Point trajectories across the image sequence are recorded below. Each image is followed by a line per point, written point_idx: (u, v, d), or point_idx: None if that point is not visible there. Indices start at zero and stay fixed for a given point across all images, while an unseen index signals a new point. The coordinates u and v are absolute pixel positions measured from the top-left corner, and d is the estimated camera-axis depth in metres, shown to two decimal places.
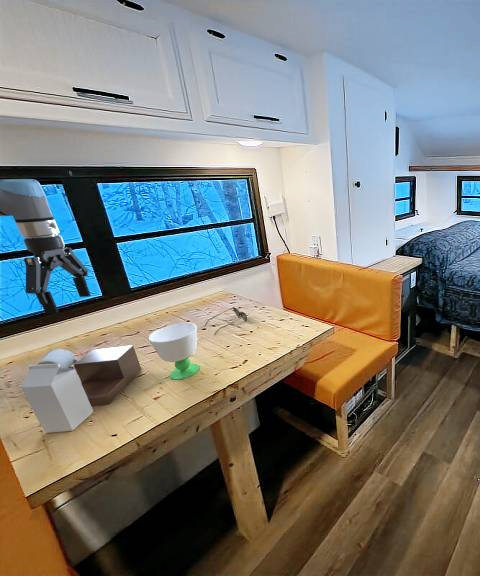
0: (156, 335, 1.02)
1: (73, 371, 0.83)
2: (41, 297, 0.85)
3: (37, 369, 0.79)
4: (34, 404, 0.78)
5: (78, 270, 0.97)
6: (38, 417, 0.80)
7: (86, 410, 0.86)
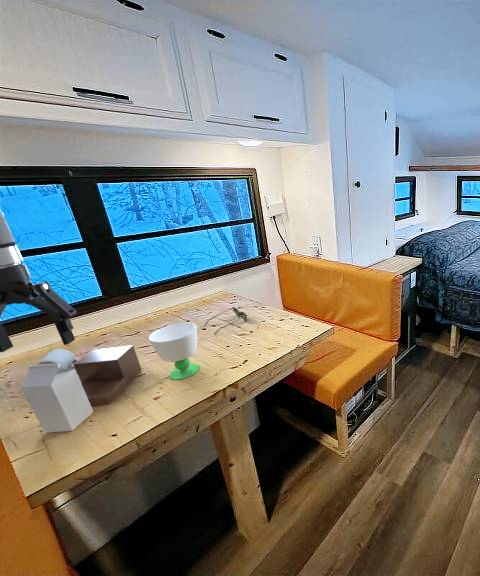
0: (156, 335, 1.02)
1: (73, 371, 0.83)
2: (69, 322, 0.78)
3: (37, 369, 0.79)
4: (34, 404, 0.78)
5: None
6: (38, 417, 0.80)
7: (86, 410, 0.86)
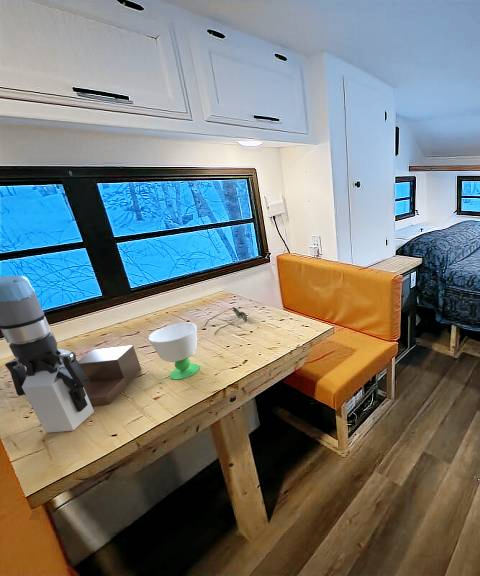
0: (156, 335, 1.02)
1: None
2: (82, 390, 0.83)
3: None
4: (35, 404, 0.78)
5: None
6: (39, 417, 0.80)
7: (87, 410, 0.86)
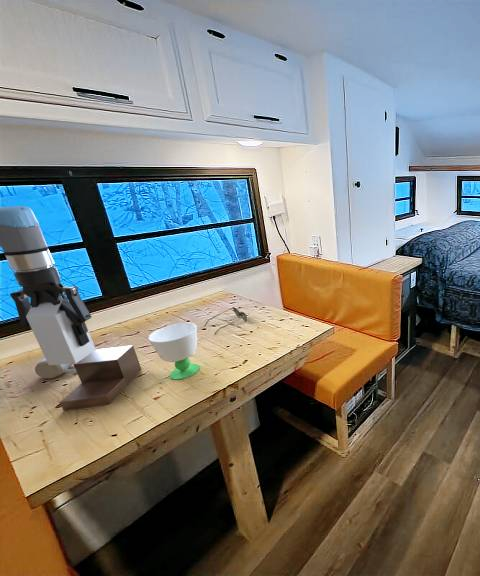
0: (156, 335, 1.02)
1: None
2: (84, 325, 0.86)
3: None
4: (39, 335, 0.81)
5: None
6: (42, 348, 0.82)
7: (89, 347, 0.89)
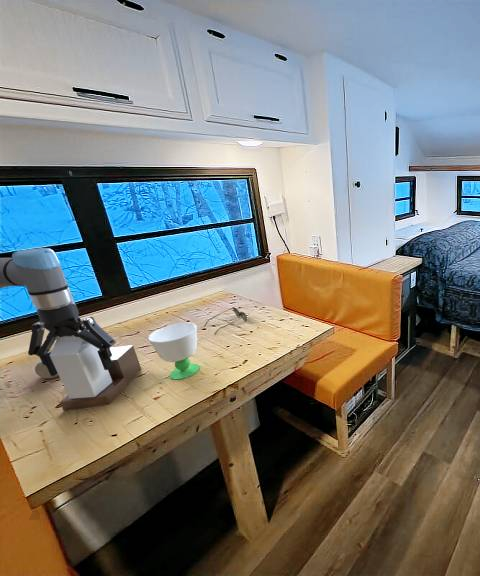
0: (155, 335, 1.02)
1: None
2: (109, 350, 0.91)
3: (63, 340, 0.87)
4: (61, 371, 0.87)
5: None
6: (64, 384, 0.88)
7: (107, 379, 0.95)
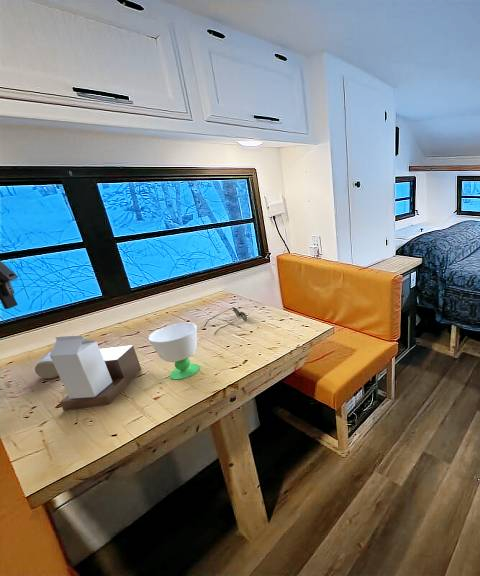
0: (155, 335, 1.02)
1: (95, 343, 0.91)
2: (9, 286, 0.78)
3: (63, 340, 0.87)
4: (61, 371, 0.87)
5: None
6: (64, 384, 0.88)
7: (107, 379, 0.95)
